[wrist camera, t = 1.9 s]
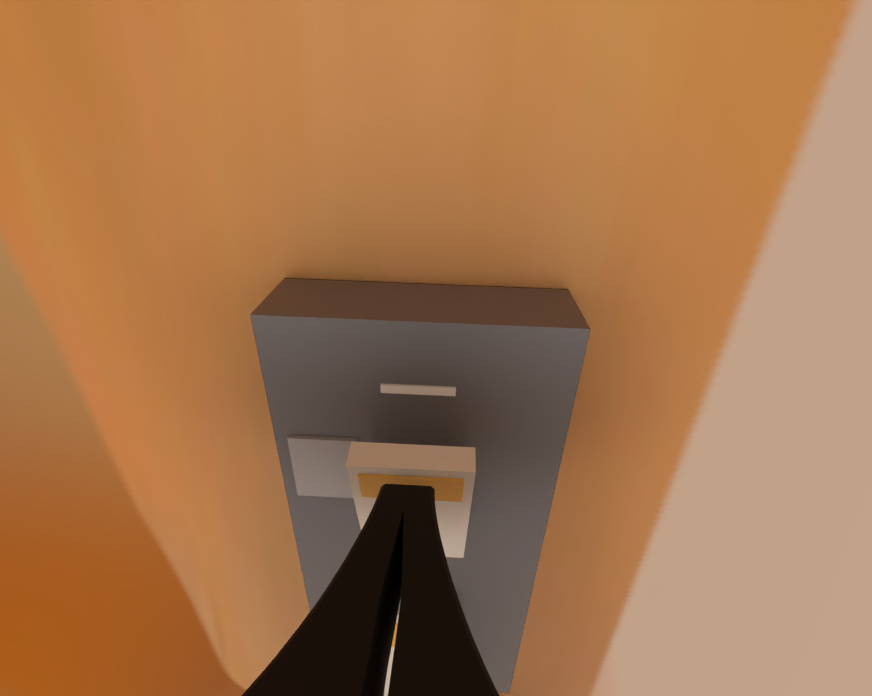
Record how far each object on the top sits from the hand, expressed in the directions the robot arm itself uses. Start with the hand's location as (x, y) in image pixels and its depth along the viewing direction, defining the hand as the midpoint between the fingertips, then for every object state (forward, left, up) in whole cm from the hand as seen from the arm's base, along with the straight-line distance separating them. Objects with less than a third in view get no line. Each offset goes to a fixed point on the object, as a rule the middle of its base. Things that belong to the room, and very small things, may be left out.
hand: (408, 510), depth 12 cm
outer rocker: (-2, 0, -2) cm, 3 cm away
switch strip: (-7, 0, -6) cm, 9 cm away
